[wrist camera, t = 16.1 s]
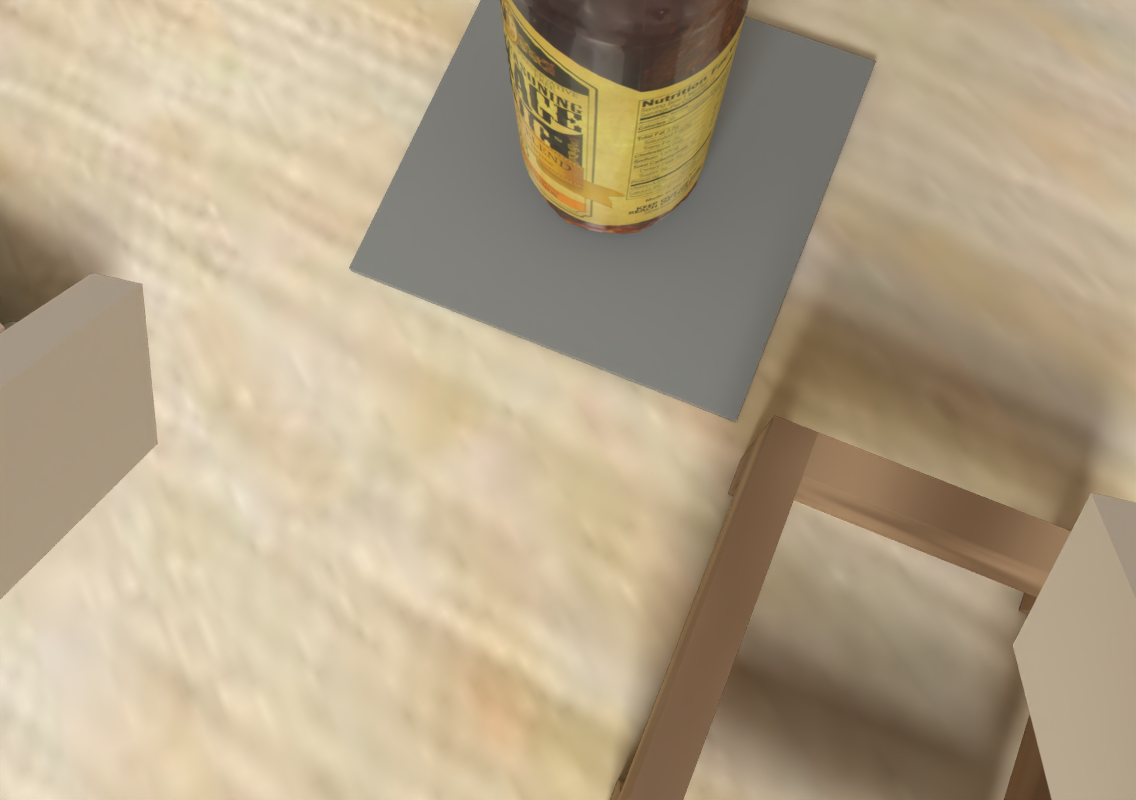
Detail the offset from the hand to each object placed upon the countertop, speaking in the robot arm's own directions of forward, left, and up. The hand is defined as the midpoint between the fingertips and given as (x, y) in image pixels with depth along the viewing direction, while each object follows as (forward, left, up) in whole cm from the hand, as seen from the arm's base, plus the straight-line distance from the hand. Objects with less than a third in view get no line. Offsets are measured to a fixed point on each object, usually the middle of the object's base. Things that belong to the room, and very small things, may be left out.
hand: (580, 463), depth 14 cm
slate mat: (+4, -13, -18) cm, 23 cm away
